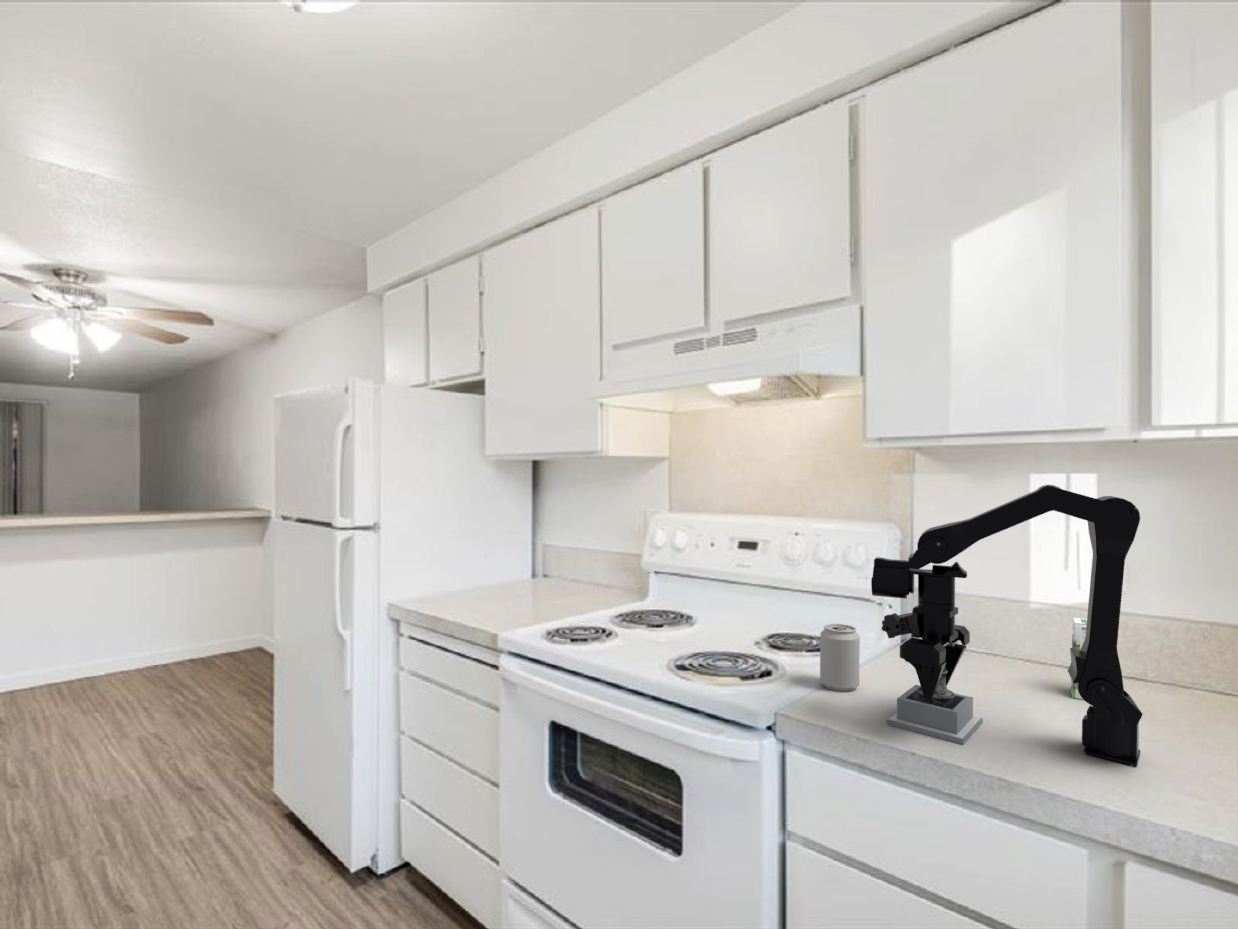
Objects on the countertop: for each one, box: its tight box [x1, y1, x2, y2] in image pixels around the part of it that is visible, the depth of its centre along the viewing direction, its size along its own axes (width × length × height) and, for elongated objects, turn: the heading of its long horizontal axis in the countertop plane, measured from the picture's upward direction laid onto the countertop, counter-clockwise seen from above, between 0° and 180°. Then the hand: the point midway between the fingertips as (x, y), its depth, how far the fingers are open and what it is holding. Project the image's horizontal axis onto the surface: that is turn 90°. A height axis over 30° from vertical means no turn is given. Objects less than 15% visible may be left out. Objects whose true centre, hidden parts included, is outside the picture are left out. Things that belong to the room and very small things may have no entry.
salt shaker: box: [917, 667, 955, 708], centre depth 114 cm, size 6×6×12 cm
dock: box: [886, 684, 984, 745], centre depth 114 cm, size 12×12×4 cm
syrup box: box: [1070, 617, 1087, 701], centre depth 127 cm, size 6×6×14 cm
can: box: [819, 623, 861, 692], centre depth 133 cm, size 8×8×12 cm
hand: (935, 692), depth 114 cm, fingers closed on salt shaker, 8 cm apart
